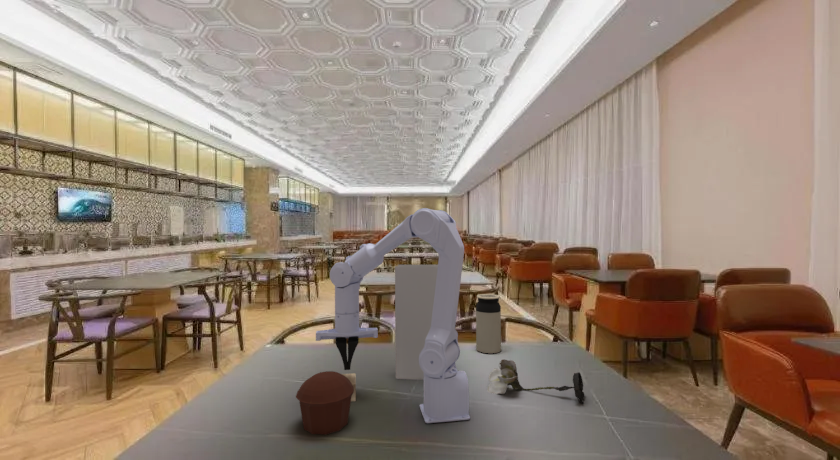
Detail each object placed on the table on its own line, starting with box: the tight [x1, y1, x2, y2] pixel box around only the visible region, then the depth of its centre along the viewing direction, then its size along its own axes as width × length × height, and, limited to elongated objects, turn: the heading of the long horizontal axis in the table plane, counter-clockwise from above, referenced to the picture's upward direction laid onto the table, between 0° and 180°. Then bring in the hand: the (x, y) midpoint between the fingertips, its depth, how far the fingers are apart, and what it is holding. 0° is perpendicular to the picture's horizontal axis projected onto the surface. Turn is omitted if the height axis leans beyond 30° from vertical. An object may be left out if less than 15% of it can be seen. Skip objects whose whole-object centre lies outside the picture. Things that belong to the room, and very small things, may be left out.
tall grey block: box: [394, 264, 438, 381], centre depth 104 cm, size 14×6×30 cm, turn 84°
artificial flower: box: [487, 359, 585, 404], centre depth 92 cm, size 9×22×10 cm, turn 65°
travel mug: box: [475, 293, 502, 355], centre depth 126 cm, size 8×8×18 cm
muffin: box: [295, 370, 354, 435], centre depth 78 cm, size 12×11×10 cm
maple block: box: [341, 372, 357, 402], centre depth 91 cm, size 4×7×10 cm
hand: (347, 368), depth 92 cm, fingers closed
